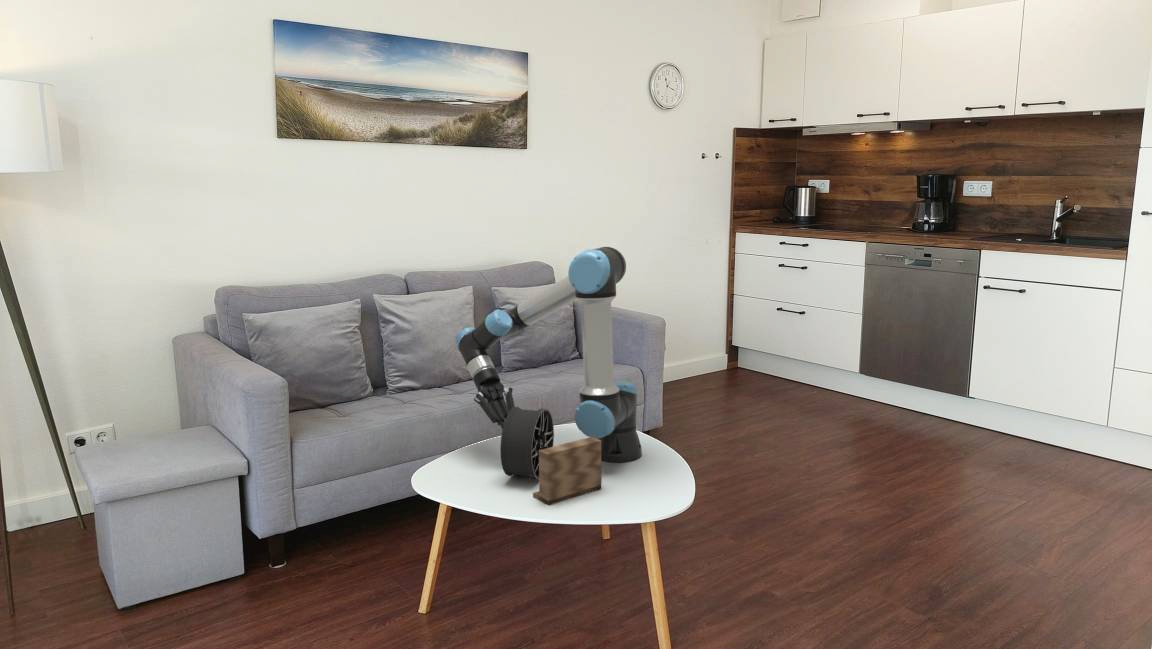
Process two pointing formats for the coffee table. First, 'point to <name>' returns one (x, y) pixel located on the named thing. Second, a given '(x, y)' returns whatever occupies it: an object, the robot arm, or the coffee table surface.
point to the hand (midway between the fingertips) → (514, 440)
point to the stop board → (569, 470)
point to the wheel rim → (525, 440)
